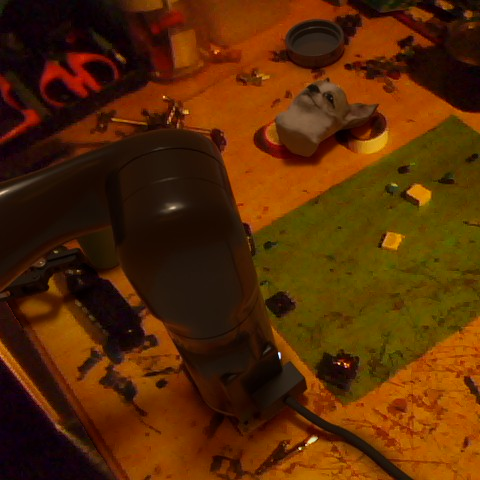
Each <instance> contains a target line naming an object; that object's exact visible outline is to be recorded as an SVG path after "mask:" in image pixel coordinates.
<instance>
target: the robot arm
mask: <svg viewBox="0 0 480 480" xmlns="http://www.w3.org/2000/svg"><path fill="white" fill-rule="evenodd" d="M109 227H112V233H113V240H114V247H115V252H116V255H117V258H118V261H119V264H118V265H119V266H120V268H121V270H122V272H123V274H124V276H125V278H126V279H127V281H128V282H129V284H130V286H131V287H132V289H133V291H134V293H135V294H136V295H137V297H138V298H139V300H140V301H141V303H142V304H143V306H144V307H145V309H146V311H148V313H149V314H150V315H151V316H152V317H153V318H154V319H156V320H157V321H159V322H161V323H162V324H163V326H164V328H165V330H166V332H167V334H168V336H169V338H170V340H171V342H172V343H173V346H174V347H175V349H176V350H177V352H178V354H179V356H180V358H181V360H182V362H183V364H184V365H185V368H186V369H187V371H188V373H189V374H190V375H189V381H190V382H191V384H193V383H194V384H195V385H196V387H197V389H198V392H199V394H200V396H201V398H202V400H203V401H204V403H205V404H206V405H207V406H208V407H209V408H210V409H212V410H213V411H214V412H216V413H218V414H220V415H223V416H225V417H226V416H227V417H233V418H234V417H235V418H236V419H237V420H238V421H239V422H240V423H241V424H244V423H246V422H248V420H250V419H251V418H252V417H253V416H255V415H256V414H258V413H261V414H262V416H263V417H264V418H265V419H266V421H269V420H271V419H272V418H273V417H274V416H275V415H277V414H278V413H279V412H281V411H282V410H283V409H285V408H286V407H289V408H290V409H291V410H293V411H294V412H295V413H297V414H298V415H300V416H301V417H302V418H303V419H305V420H306V421H308V422H309V423H311V424H313V425H314V426H316V427H317V428H319V429H321V430H323V431H325V432H327V433H330V434H332V435H335V436H337V437H339V438H342V439H344V440H345V441H347V442H349V443H351V444H352V445H354V446H355V447H357V448H358V449H359V450H361V452H363V453H365V454H366V455H367V456H369V458H370V459H373V461H374V462H376V463H377V464H378V465H380V467H382V469H384V470H385V471H387V472H388V473H389V474H390V475H391V476H392V477H394V478H395V479H396V480H415V479H414V478H413V477H411V476H410V475H409V474H408V473H406V472H405V471H403V470H402V469H401V468H399V467H398V466H397V465H395V464H394V463H393V462H391V461H390V460H389V459H388V458H387V457H386V456H385V455H383V453H381V452H380V451H379V450H377V449H376V448H375V447H374V446H373V445H371V444H370V443H368V442H367V441H365V440H364V439H363V438H361V437H360V436H358V435H357V434H355V433H353V432H352V431H350V430H349V429H347V428H344V427H342V426H339V425H336V424H334V423H332V422H329V421H327V420H326V419H324V418H322V417H320V416H319V415H318V414H316V413H315V412H314V411H311V410H310V409H309V408H308V407H306V406H304V405H303V404H301V403H300V402H299V401H298V400H296V399H297V398H298V397H300V396H301V395H302V394H304V393H305V392H306V391H307V390H308V389H309V388H308V383H307V380H306V377H305V375H304V374H303V373H302V372H301V371H300V370H299V369H298V368H297V366H296V365H295V364H294V363H293V361H291V360H288V361H287V362H286V363H283V359H282V356H281V352H279V349H278V346H277V342H276V339H275V335H274V332H273V331H274V330H273V327H272V325H271V320H270V317H269V314H268V311H267V307H266V304H265V300H264V295H263V293H262V289H261V285H260V281H259V276H258V273H257V272H258V271H257V269H256V266H255V262H254V258H253V254H252V252H251V248H250V244H249V241H248V237H247V233H246V230H245V227H244V223H243V221H242V216H241V213H240V210H239V207H238V204H237V200H236V198H235V194H234V191H233V187H232V184H231V181H230V177H229V173H228V170H227V166H226V164H225V161H224V158H223V155H222V153H221V151H220V150H219V148H218V146H217V145H216V143H215V142H214V141H213V140H212V139H211V138H210V137H208V136H206V135H204V134H202V133H201V132H197V131H194V130H191V129H186V128H174V127H173V128H171V127H169V128H159V129H152V130H148V131H143V132H140V133H136V134H133V135H129V136H127V137H124V138H121V139H118V140H114V141H112V142H110V143H107V144H104V145H101V146H99V147H96V148H93V149H90V150H88V151H86V152H83V153H81V154H78V155H74V156H72V157H70V158H67V159H65V160H62V161H59V162H56V163H53V164H51V165H48V166H45V167H42V168H40V169H38V170H35V171H32V172H29V173H26V174H23V175H20V176H16V177H13V178H11V179H10V178H9V179H7V180H3V181H0V303H4V302H5V303H6V302H8V301H14V300H18V299H22V298H27V297H30V296H31V297H32V296H35V295H39V294H44V293H47V292H48V291H49V289H50V285H49V282H50V279H51V278H52V277H53V276H54V275H55V274H59V273H62V272H65V271H69V270H74V269H76V268H78V267H79V266H81V265H82V264H84V263H86V255H85V253H84V251H83V250H82V248H81V247H73V248H69V249H66V250H62V251H59V252H55V253H51V252H53V251H54V250H56V249H57V248H60V247H62V246H63V245H65V244H67V243H70V242H72V241H74V240H76V239H77V238H79V237H82V236H85V235H87V234H90V233H93V232H96V231H100V230H103V229H106V228H109ZM50 253H51V254H50ZM44 256H46V259H45V258H44Z"/></svg>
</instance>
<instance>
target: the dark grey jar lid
mask: <svg viewBox="0 0 480 480" xmlns="http://www.w3.org/2000/svg"><path fill="white" fill-rule="evenodd" d="M284 40H285V41H284V42H285V48H286V54H287V56H288V57H289V59H290V60H291V61H293V62H294V63H295V64H297V65H299V66H302V67H304V68H313V69H314V68H323V67H326V66H329V65H332V64H333V63H334V62H336V61H337V60H338V59H339V58H340V57H341V56H342V54H343V52H344V50H345V46H346V45H345V33H344V30H343V29H342V27H341V26H340V25H338V24H337V22H334V21H332V20H329V19H323V18H311V19H306V20H304V21H300V22H298V23H297V24H294V25H293V26H292V27H291V28H289V30H288V31H287V32H286V35H285V39H284Z"/></svg>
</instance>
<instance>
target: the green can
mask: <svg viewBox="0 0 480 480" xmlns="http://www.w3.org/2000/svg"><path fill="white" fill-rule="evenodd" d="M75 240H76V242H77V244H78V245H79V248H80V249H81V250H82V252H83V254H84V255H85V257H86V258H87V260H88V261H89V263H90V265H92V266H93V267H94V268H96V269H99V270H109V269H112V268H115V267H117V266H118V265H120V264H119V261H118V258H117V255H116V252H115V247H114V240H113V233H112V227H109V228H106V229H103V230H100V231H96V232H93V233H90V234H87V235H85V236H82V237H79V238H77V239H75Z"/></svg>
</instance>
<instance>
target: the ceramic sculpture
mask: <svg viewBox="0 0 480 480" xmlns="http://www.w3.org/2000/svg"><path fill="white" fill-rule="evenodd" d="M379 106H380V103H374V104H366V103H361V102H355V103H349V101H348V97H347V94H346V92H345V90H344V89H342V88H341V87H340V86H339V85H337V84H336V83H334V82H331V80H330V77H326V78H325V79H323V80H315V81H313V82H312V83H310V84H308V85H307V86H305V88H304V89H302V90H301V91H300V92H299V93H298V94H297V95H296V96H295V97H294V99H293V100H292V102H291V103H290V104H289V106H288V108H287V109H286V110H285V111H282V112H279V113H278V114H276V115H275V116H274V117H275V118H274V119H273V121H274V125H275V131H276V134H277V138H278V139H279V141H280V142H282V144H283V145H284V146H285V148H286V150H288V151H289V152H290V153H292V154H293V155H298V156H303V157H306V158H307V157H311V156H313V154H315V152H316V151H317V150H318V147H319V144H320V143H321V142H323V141H324V140H327V139H328V138H329V137H331V136H332V135H334V134H335V133H337V132H339V131H343V130H348V129H353V128H358V127H361V126H362V125H365V123H367V122H368V121H369V120H370V119H371V118H372V117H373V116H374V114H375V112H376V110H377V109H378V108H379Z"/></svg>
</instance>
